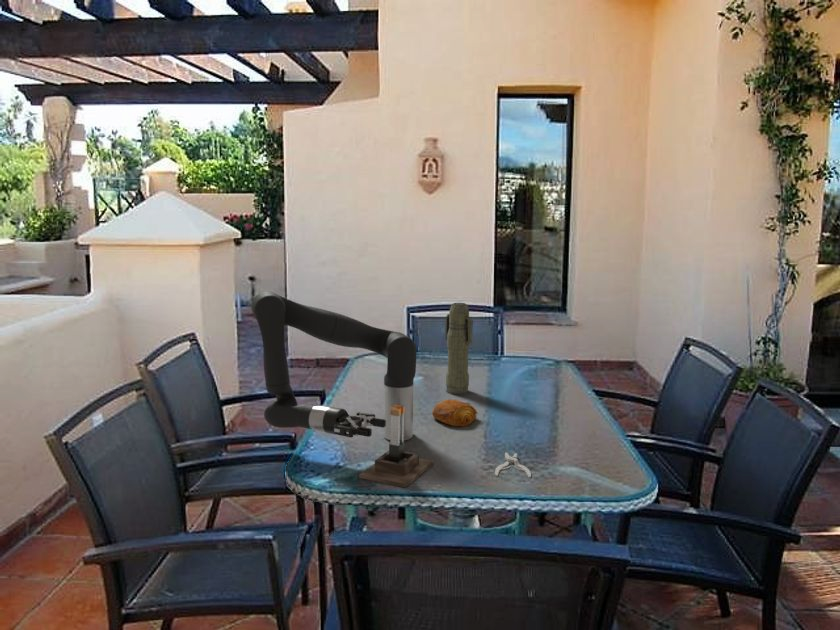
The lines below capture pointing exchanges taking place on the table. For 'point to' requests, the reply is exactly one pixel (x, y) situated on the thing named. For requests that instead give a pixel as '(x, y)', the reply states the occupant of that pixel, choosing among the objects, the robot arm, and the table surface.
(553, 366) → the table surface
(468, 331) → the thermos
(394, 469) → the stand
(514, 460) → the pliers
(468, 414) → the croissant
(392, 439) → the tongs
